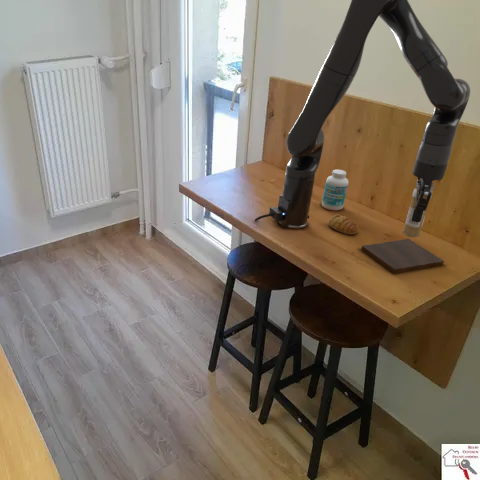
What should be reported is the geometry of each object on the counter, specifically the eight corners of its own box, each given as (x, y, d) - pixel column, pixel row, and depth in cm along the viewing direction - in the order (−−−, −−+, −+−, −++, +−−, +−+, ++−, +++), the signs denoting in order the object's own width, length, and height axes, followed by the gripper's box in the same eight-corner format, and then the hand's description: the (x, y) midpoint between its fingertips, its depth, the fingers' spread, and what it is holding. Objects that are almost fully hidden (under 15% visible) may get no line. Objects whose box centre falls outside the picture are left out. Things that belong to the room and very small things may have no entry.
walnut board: (393, 273, 131) (394, 269, 130) (361, 250, 143) (362, 245, 142) (442, 265, 136) (444, 260, 135) (407, 242, 147) (408, 238, 147)
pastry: (362, 232, 153) (365, 222, 151) (348, 237, 150) (350, 227, 148) (339, 221, 160) (341, 211, 158) (325, 226, 157) (327, 216, 155)
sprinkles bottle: (422, 235, 134) (436, 191, 128) (413, 239, 132) (426, 194, 125) (407, 229, 137) (420, 186, 131) (398, 233, 135) (410, 189, 129)
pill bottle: (320, 209, 169) (327, 173, 163) (322, 201, 175) (329, 166, 169) (342, 212, 167) (350, 176, 160) (343, 204, 173) (351, 169, 166)
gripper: (415, 149, 131) (400, 206, 139) (417, 165, 120) (401, 225, 128) (445, 153, 129) (428, 210, 137) (451, 169, 117) (432, 231, 125)
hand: (415, 217), depth 132 cm, fingers closed on sprinkles bottle, 4 cm apart
